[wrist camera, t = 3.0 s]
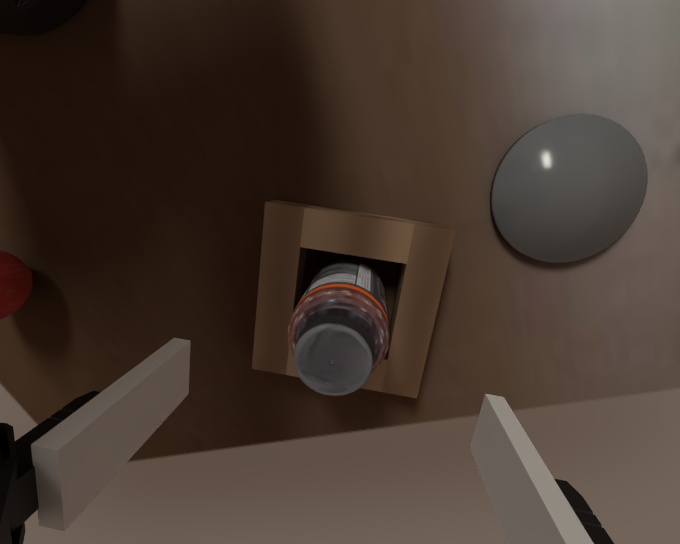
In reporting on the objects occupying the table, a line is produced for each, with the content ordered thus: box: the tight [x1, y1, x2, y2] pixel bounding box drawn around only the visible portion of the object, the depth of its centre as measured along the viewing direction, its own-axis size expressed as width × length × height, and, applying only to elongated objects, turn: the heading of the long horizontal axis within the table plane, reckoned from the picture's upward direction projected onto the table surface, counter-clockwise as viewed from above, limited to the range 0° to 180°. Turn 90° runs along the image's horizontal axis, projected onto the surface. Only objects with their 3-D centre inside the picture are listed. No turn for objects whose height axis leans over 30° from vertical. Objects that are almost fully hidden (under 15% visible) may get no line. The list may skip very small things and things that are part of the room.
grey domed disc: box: [490, 114, 647, 263], centre depth 24 cm, size 10×10×1 cm
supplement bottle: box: [288, 259, 390, 396], centre depth 22 cm, size 6×6×11 cm
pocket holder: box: [252, 200, 456, 398], centre depth 26 cm, size 13×13×3 cm
